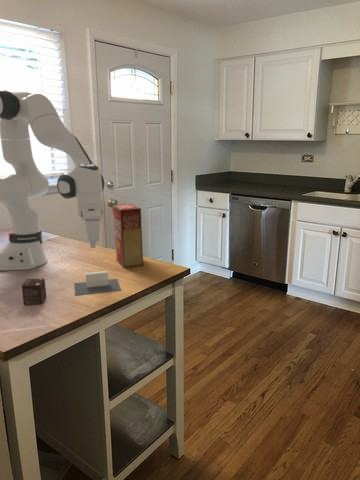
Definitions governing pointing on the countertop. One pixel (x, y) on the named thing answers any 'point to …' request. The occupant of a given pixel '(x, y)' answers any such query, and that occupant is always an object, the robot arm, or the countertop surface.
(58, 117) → the robot arm
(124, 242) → the food packaging
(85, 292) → the mat
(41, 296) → the box
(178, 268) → the countertop surface
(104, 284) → the tile
